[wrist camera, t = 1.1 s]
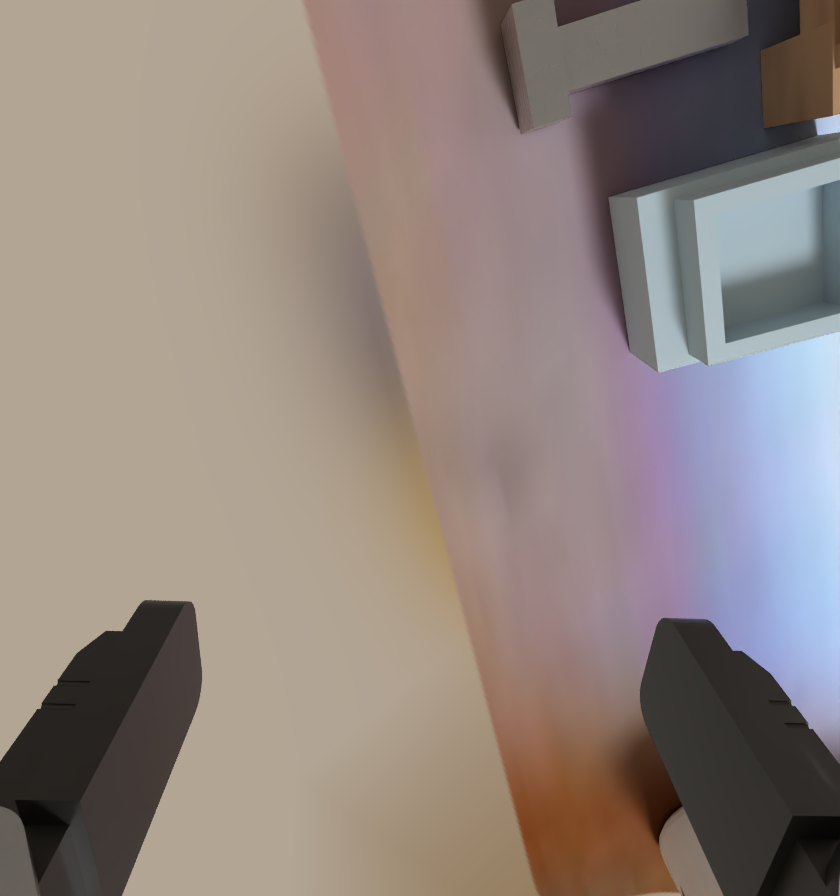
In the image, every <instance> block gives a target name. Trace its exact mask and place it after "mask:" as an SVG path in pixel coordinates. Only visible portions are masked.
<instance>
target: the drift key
mask: <svg viewBox="0 0 840 896" xmlns="http://www.w3.org/2000/svg"><path fill="white" fill-rule="evenodd" d="M500 26H501V32H502V37H503V42H504V48H505V53H506V58H507V64H508V69H509V74H510V80H511V85H512V90H513V96H514V101H515V106H516V112H517V117H518V122H519V128H520V133H521V134H524V133H527V132H530V131H534V130H537V129H540V128H543V127H547V126H550V125H553V124H556V123H558V122H560V121H562V120H564V119H566V118H568V117H570V116H572V115H571V108H570V102H569V94H572V93H575V92H578V91H582V90H585V89H588V88H591V87H594V86H598V85H601V84H604V83H607V82H611V81H614V80H617V79H620V78H623V77H627V76H630V75H633V74H636V73H639V72H643V71H646V70H649V69H652V68H655V67H659V66H662V65H665V64H668V63H671V62H675V61H678V60H681V59H684V58H687V57H691V56H694V55H697V54H700V53H704V52H707V51H710V50H713V49H716V48H720V47H723V46H726V45H729V44H731V43H733V42H735V41H737V40H739V39H741V38H744V37H746V36H748V35H749V31H748V11H747V0H640V1H637V2H634V3H630V4H627V5H624V6H621V7H618V8H615V9H612V10H609V11H606V12H603V13H600V14H596V15H593V16H590V17H587V18H584V19H581V20H578V21H575V22H572V23H569V24H566V25H562V26H559V27H558V25H557V18H556V12H555V5H554V0H523V1H520V2H516V3H513V4H511V6H510V8H509V10H508V12H507V14H506V16H505V18H504V19H503V21H502V23H501V25H500Z"/></svg>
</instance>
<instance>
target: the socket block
mask: <svg viewBox="0 0 840 896" xmlns="http://www.w3.org/2000/svg"><path fill="white" fill-rule="evenodd" d="M760 59H761V82H762V104H763V127H764V128H768V127H774V126H779V125H785V124H790V123H795V122H801V121H806V120H812V119H817V118H823V117H828V116H833V115H837V114H840V0H800V35H798V36H795V37H793V38H790V39H788V40H785V41H783V42H780V43H778V44H775V45H773V46H771V47H768V48H766V49H763V50H761V51H760Z"/></svg>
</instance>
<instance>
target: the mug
mask: <svg viewBox="0 0 840 896" xmlns="http://www.w3.org/2000/svg"><path fill="white" fill-rule="evenodd" d="M659 847H660V851H661V854H662V857H663V859H664V862H665V864H666V866H667V868H668V870H669V872H670V874H671V876H672V878H673V880H674V882H675V884H676V886H677V888H678V890H679V892H680V894H681V896H723V894H722V891H721V889H720V887H719V885H718V883H717V880H716V878H715V876H714V874H713V872H712V869H711V867H710V865H709V863H708V861H707V858H706V856H705V854H704V852H703V850H702V847H701V845H700V843H699V841H698V839H697V836H696V834H695V832H694V830H693V828H692V825H691V823H690V821H689V819H688V816H687V814H686V812H685V810H684V808H683V806H682V807H681V808H680V809H678V810H677V811H675V812H674V813H673V814H672V815H671V816H670V818H669V819H668V820H667V821H666V823H665V825H664V827H663V829H662V832H661V834H660V838H659Z"/></svg>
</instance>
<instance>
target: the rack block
mask: <svg viewBox="0 0 840 896" xmlns="http://www.w3.org/2000/svg"><path fill="white" fill-rule="evenodd" d="M608 199H609V206H610V213H611V220H612V228H613V235H614V242H615V249H616V256H617V263H618V270H619V277H620V284H621V291H622V298H623V305H624V313H625V320H626V327H627V334H628V341H629V348H630V352H631V353H632V354H633V355H635V356H636V357H637V358H639V359H640V360H642V361H643V362H644V363H646V364H647V365H648V366H650V367H651V368H653V369H654V370H655V371H657V372H658V373H659V372H663V371H667V370H671V369H675V368H678V367H682V366H686V365H690V364H694V363H697V362H703V363H704V364H706V365H708V366H710V365H713V364H717V363H721V362H725V361H729V360H732V359H736V358H740V357H744V356H748V355H751V354H755V353H759V352H763V351H767V350H770V349H774V348H778V347H782V346H786V345H789V344H793V343H797V342H801V341H805V340H808V339H812V338H816V337H820V336H824V335H828V334H831V333H835V332H839V331H840V132H839V133H832V134H825V135H818V136H815V137H811V138H808V139H805V140H801V141H798V142H794V143H791V144H787V145H784V146H781V147H777V148H774V149H770V150H767V151H764V152H760V153H757V154H753V155H750V156H747V157H743V158H740V159H736V160H733V161H730V162H726V163H723V164H719V165H716V166H713V167H709V168H706V169H702V170H699V171H696V172H692V173H689V174H685V175H682V176H679V177H675V178H672V179H668V180H665V181H661V182H658V183H655V184H651V185H648V186H644V187H641V188H638V189H634V190H631V191H627V192H624V193H621V194H617V195H614V196H610V197H608Z"/></svg>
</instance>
